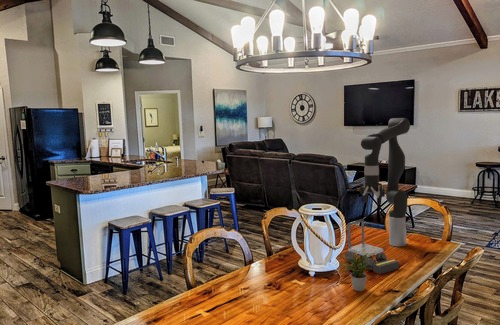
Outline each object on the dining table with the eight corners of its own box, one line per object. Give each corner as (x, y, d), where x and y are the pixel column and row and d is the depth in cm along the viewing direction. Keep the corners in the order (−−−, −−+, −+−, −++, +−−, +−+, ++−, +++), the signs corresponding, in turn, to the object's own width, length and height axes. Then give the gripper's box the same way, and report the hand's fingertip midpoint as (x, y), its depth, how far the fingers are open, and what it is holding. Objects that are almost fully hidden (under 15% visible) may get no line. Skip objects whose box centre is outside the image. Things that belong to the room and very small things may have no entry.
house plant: (353, 278, 185) (353, 245, 183) (381, 286, 175) (380, 251, 173) (337, 288, 175) (336, 253, 173) (365, 297, 165) (364, 260, 163)
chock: (379, 274, 188) (379, 266, 188) (373, 271, 192) (372, 263, 192) (398, 269, 194) (398, 261, 193) (391, 266, 198) (391, 258, 197)
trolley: (344, 261, 207) (343, 222, 205) (359, 256, 214) (358, 218, 212) (372, 270, 193) (371, 228, 190) (387, 264, 199) (386, 224, 197)
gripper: (356, 173, 210) (357, 202, 212) (378, 175, 199) (378, 206, 200) (365, 172, 215) (366, 200, 216) (387, 174, 203) (387, 204, 205)
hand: (372, 203), depth 208 cm, fingers open, 8 cm apart
